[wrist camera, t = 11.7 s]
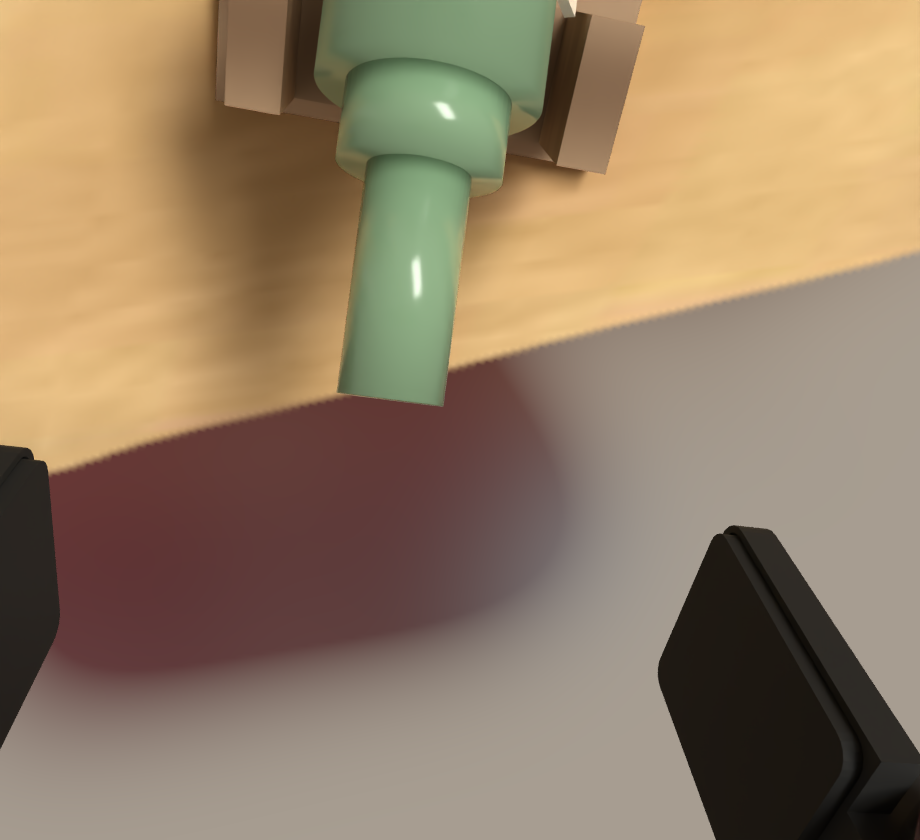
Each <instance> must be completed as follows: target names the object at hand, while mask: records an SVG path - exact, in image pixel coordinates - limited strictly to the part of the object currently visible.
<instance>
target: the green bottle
mask: <svg viewBox="0 0 920 840" xmlns="http://www.w3.org/2000/svg"><path fill="white" fill-rule="evenodd" d="M556 2H558V4H559V6H560V9H561V11H562V14H563V16H564V18H567V17H575V13H576V5H577V0H323V6H322V14H321V22H320V29H319V37H318V45H317V53H316V61H315V68H314V79H315V82H316V84H317V86H318V88H319V89H320V90H321V92H322V93H323V94H324V95H325V96H326V97H327V98H328V99H329V100H330V101H332V102H333V103H334V104H336V105H337V106H338V107H340V108H341V116H340V124H339V132H338V140H337V147H336V155H335V160H336V162H337V164H338V166H339V167H340V168H341V169H343V170H344V171H345V172H346V173H348V174H350V175H351V176H353V177H355V178H357V179H359V180H361V181H364V184H363V192H362V199H361V207H360V215H359V223H358V231H357V239H356V246H355V254H354V262H353V270H352V278H351V285H350V293H349V301H348V309H347V317H346V325H345V332H344V340H343V348H342V356H341V364H340V371H339V379H338V387H337V393H342V394H348V395H355V396H363V397H370V398H377V399H385V400H392V401H401V402H409V403H417V404H425V405H435V406H443V404H444V396H445V388H446V381H447V373H448V365H449V357H450V349H451V342H452V334H453V326H454V318H455V310H456V303H457V295H458V287H459V279H460V271H461V263H462V256H463V248H464V240H465V232H466V224H467V217H468V209H469V201H470V198H473V197H480V196H484V195H488V194H491V193H493V192H495V191H497V190H498V189H499V188H500V187H501V186H502V182H503V174H504V166H505V159H506V151H507V143H508V135H512V134H515V133H518V132H521V131H523V130H525V129H527V128H529V127H530V126H532V125H533V124H534V123H535V122H536V121H537V120H538V119H539V118H540V116H541V114H542V110H543V103H544V96H545V88H546V80H547V72H548V64H549V56H550V49H551V41H552V33H553V25H554V17H555V10H556Z"/></svg>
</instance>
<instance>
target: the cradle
mask: <svg viewBox="0 0 920 840" xmlns="http://www.w3.org/2000/svg"><path fill="white" fill-rule="evenodd" d="M641 3H642V0H577V5H576V13H575V17H567V18H564V16H563V14H562V11H561V9H560V6H559V4H558V2H556V10H555V17H554V25H553V33H552V41H551V49H550V56H549V64H548V72H547V80H546V88H545V96H544V103H543V110H542V114H541V116H540V118H539V119H538V120H537V121H536V122H535V123H534V124H533V125H532V126H530V127H529V128H527V129H525V130H523V131H521V132H518V133H515V134H512V135H508V143H507V151H506V153H508V154H514V155H519V156H525V157H530V158H536V159H541V160H547V161H552V162H554V163H555V164H556V166H561V167H567V168H572V169H578V170H583V171H589V172H594V173H600V174H606V170H607V166H608V163H609V159H610V155H611V151H612V148H613V144H614V140H615V136H616V133H617V129H618V125H619V121H620V118H621V114H622V110H623V106H624V103H625V99H626V95H627V92H628V88H629V84H630V80H631V77H632V73H633V69H634V65H635V62H636V58H637V54H638V50H639V47H640V43H641V39H642V35H643V32H644V28H645V26H642V25H638V24H636V22H637V18H638V14H639V10H640V6H641ZM322 6H323V0H219V15H218V43H217V72H216V100H217V101H223V102H225V104H224V105H226V106H231V107H237V108H242V109H248V110H253V111H259V112H264V113H270V114H275V115H280V114H281V113H282V112H283V113H289V114H294V115H300V116H305V117H311V118H316V119H322V120H327V121H333V122H338V123H340V116H341V108H340V107H338V106H337V105H336V104H334V103H333V102H332V101H330V100H329V99H328V98H327V97H326V96H325V95H324V94H323V93H322V92H321V90H320V89H319V88H318V86H317V84H316V82H315V79H314V68H315V61H316V53H317V45H318V37H319V29H320V22H321V14H322Z"/></svg>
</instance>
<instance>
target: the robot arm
mask: <svg viewBox="0 0 920 840" xmlns="http://www.w3.org/2000/svg"><path fill="white" fill-rule="evenodd" d="M59 618H60V608H59V596H58V584H57V573H56V560H55V550H54V537H53V525H52V513H51V501H50V490H49V479H48V469H47V465H46V463H45V462H44V461H40V460H34V456H33V454H32V452H31V450H30V449H28V448H23V447H14V446H5V445H0V748H1V747H2V745H3V743H4V740H5V738H6V736H7V734H8V732H9V730H10V728H11V726H12V724H13V722H14V720H15V718H16V716H17V714H18V712H19V710H20V708H21V706H22V704H23V702H24V700H25V698H26V696H27V694H28V692H29V690H30V688H31V686H32V684H33V682H34V680H35V678H36V676H37V673H38V671H39V670H40V668H41V665H42V663H43V661H44V659H45V657H46V655H47V653H48V651H49V649H50V647H51V645H52V643H53V641H54V639H55V636H56V633H57V629H58V625H59ZM658 680H659V684H660V688H661V691H662V693H663V696H664V699H665V702H666V704H667V707H668V710H669V712H670V715H671V718H672V721H673V723H674V726H675V729H676V732H677V734H678V737H679V740H680V743H681V745H682V748H683V751H684V753H685V756H686V759H687V761H688V765H689V767H690V770H691V773H692V776H693V778H694V781H695V783H696V786H697V789H698V792H699V794H700V797H701V800H702V803H703V806H704V808H705V811H706V814H707V816H708V819H709V822H710V825H711V828H712V830H713V833H714V836H715V838H716V840H920V754H919V752H918V750H917V749H916V747H915V746H914V744H913V743H912V741H911V740H910V739H909V737H908V735H907V734H906V732H905V731H904V729H903V728H902V726H901V725H900V723H899V722H898V720H897V719H896V717H895V716H894V714H893V713H892V711H891V710H890V708H889V707H888V705H887V703H886V702H885V700H884V699H883V697H882V696H881V694H880V693H879V691H878V690H877V688H876V687H875V685H874V684H873V682H872V681H871V679H870V678H869V676H868V675H867V673H866V672H865V670H864V669H863V667H862V666H861V664H860V663H859V661H858V659H857V658H856V657H855V655H854V653H853V652H852V650H851V649H850V648H849V646H848V644H847V643H846V641H845V640H844V638H843V637H842V635H841V634H840V632H839V631H838V629H837V628H836V626H835V625H834V623H833V622H832V620H831V619H830V617H829V616H828V614H827V612H826V611H825V609H824V608H823V607H822V605H821V603H820V602H819V600H818V599H817V597H816V596H815V594H814V593H813V591H812V590H811V588H810V587H809V586H808V584H807V582H806V581H805V579H804V578H803V576H802V575H801V573H800V572H799V570H798V569H797V567H796V565H795V564H794V562H793V561H792V560H791V558H790V556H789V555H788V553H787V552H786V550H785V549H784V547H783V546H782V544H781V543H780V541H779V540H778V538H777V537H776V535H775V534H774V533H773V532H772V531H771V530H768V529H762V528H753V527H744V526H735V525H733V526H729V527H728V528H727V529H726V530H725V531H724V533H723V534H717V535H715V536H714V537H713V539H712V541H711V543H710V545H709V548H708V550H707V552H706V555H705V557H704V559H703V561H702V564H701V566H700V568H699V571H698V573H697V575H696V577H695V580H694V582H693V584H692V587H691V589H690V591H689V594H688V596H687V598H686V601H685V603H684V605H683V607H682V610H681V612H680V614H679V617H678V619H677V622H676V624H675V626H674V628H673V630H672V633H671V635H670V638H669V640H668V642H667V644H666V647H665V649H664V651H663V654H662V656H661V658H660V661H659V666H658Z"/></svg>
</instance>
